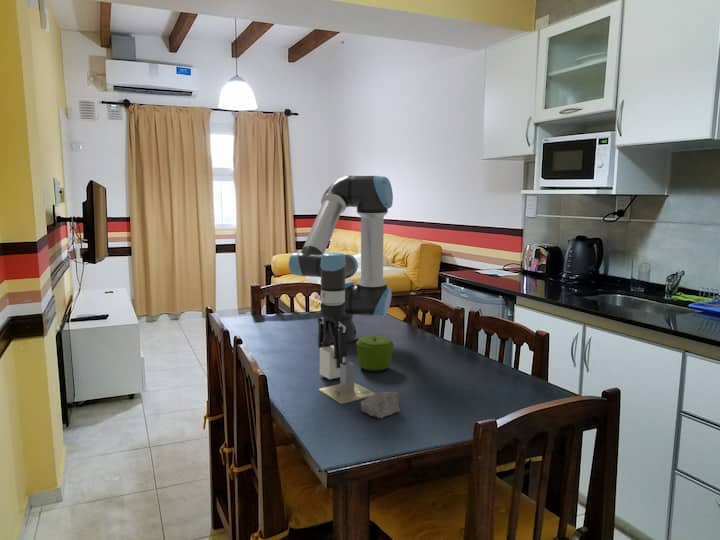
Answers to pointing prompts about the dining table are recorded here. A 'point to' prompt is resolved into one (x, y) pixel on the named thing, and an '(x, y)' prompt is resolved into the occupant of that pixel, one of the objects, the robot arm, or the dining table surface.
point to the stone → (381, 404)
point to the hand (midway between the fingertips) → (332, 373)
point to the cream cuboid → (327, 361)
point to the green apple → (374, 352)
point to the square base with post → (346, 386)
